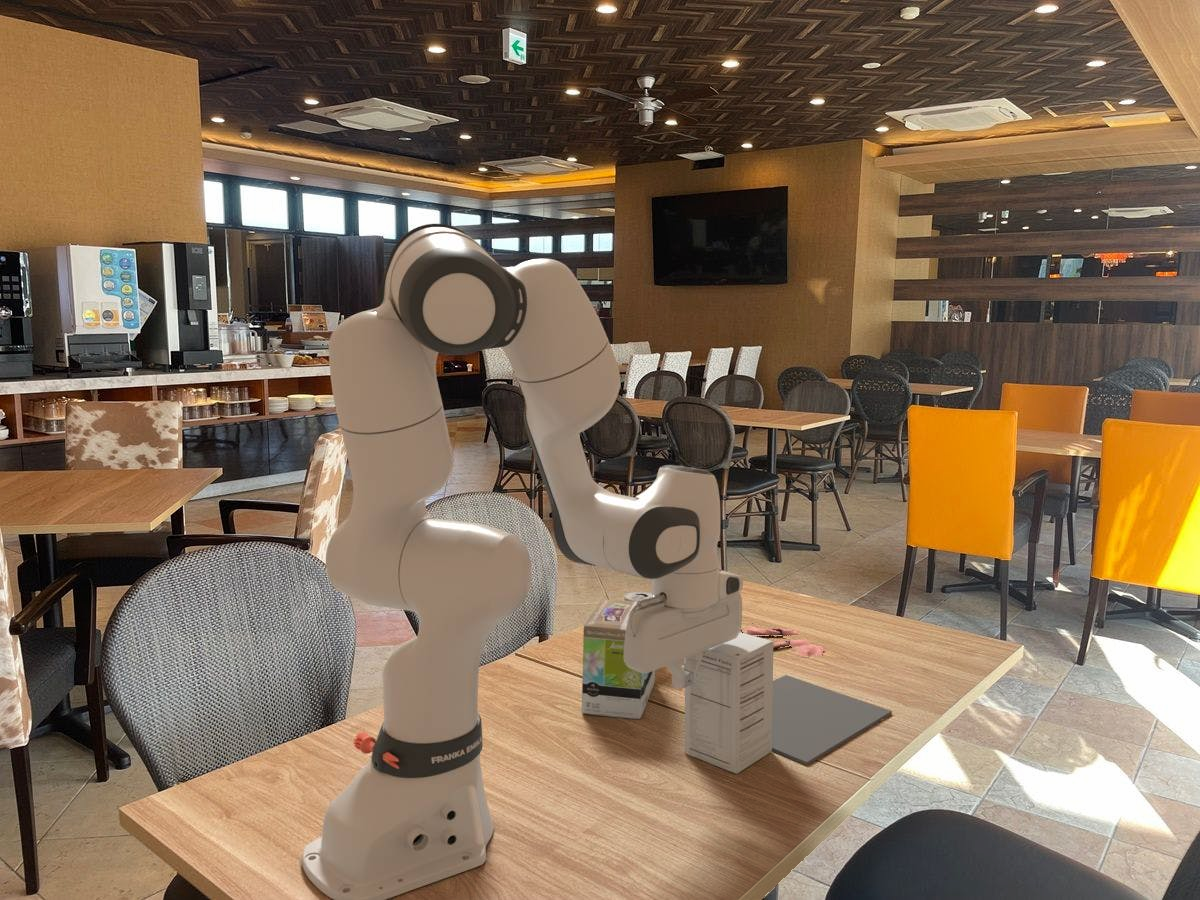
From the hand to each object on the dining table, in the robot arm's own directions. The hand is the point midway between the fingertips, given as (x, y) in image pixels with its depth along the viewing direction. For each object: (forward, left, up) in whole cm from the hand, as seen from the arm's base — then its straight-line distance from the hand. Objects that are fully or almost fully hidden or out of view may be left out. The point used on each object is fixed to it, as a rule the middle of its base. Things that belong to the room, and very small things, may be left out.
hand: (684, 685), depth 120 cm
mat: (+27, 0, -13) cm, 30 cm away
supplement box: (+10, 0, -13) cm, 17 cm away
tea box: (+12, +24, -14) cm, 30 cm away
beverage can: (+27, +34, -13) cm, 46 cm away
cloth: (+52, +23, -14) cm, 59 cm away
